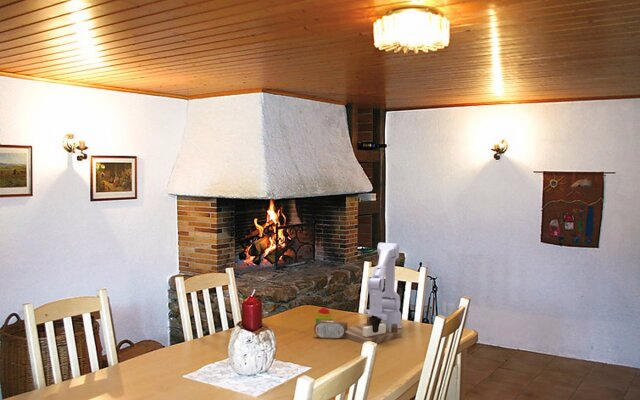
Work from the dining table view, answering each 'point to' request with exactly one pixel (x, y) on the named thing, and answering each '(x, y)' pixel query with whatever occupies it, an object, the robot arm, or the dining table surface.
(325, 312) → the decorative egg
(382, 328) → the folding leg
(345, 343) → the dining table surface
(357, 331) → the stool seat
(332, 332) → the tin
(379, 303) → the robot arm
